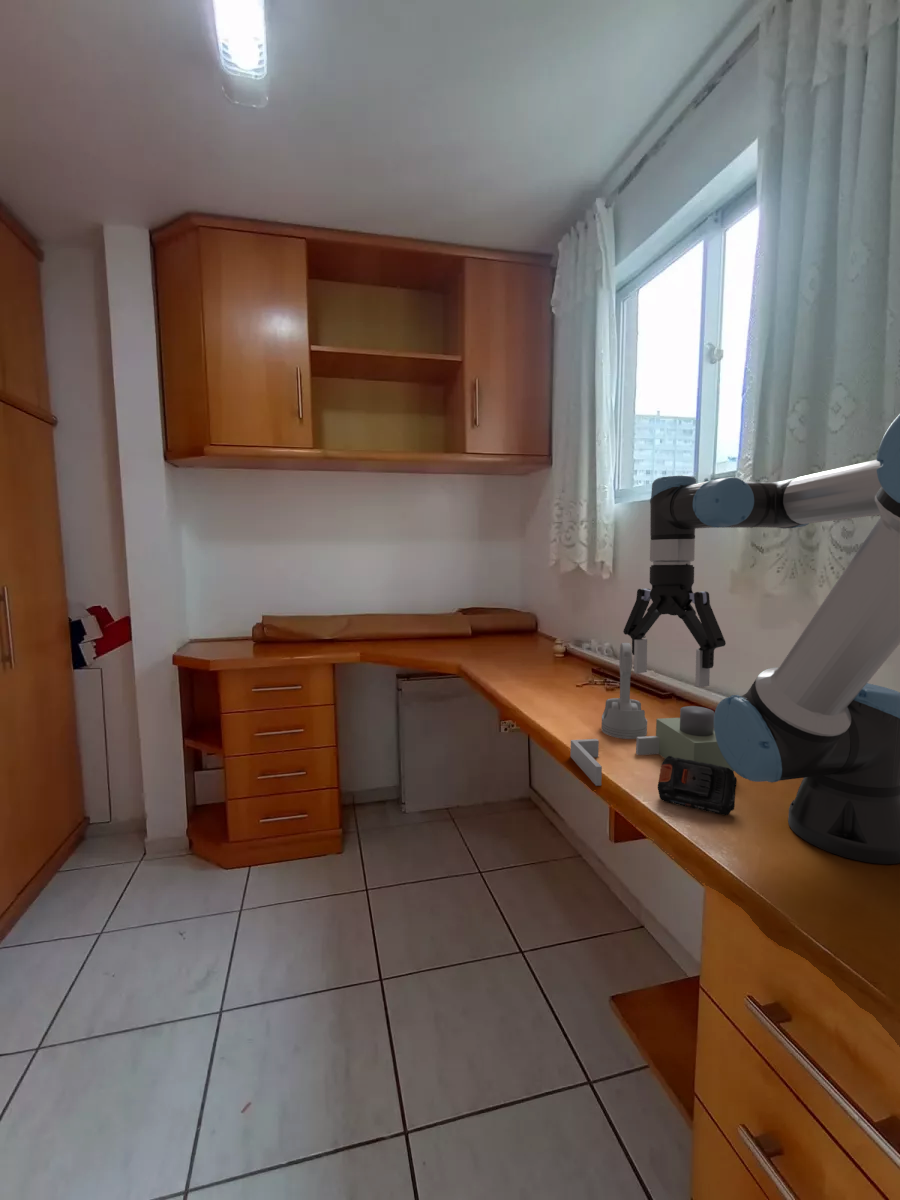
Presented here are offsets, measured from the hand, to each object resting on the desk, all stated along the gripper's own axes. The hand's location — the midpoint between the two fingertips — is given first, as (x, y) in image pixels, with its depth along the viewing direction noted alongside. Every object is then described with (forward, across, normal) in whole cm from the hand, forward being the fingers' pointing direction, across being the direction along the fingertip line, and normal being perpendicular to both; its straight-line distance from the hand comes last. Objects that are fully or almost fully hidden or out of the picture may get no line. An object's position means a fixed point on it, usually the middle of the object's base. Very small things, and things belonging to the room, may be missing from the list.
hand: (669, 679), depth 101 cm
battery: (+19, -10, +6) cm, 22 cm away
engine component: (+18, +22, -12) cm, 31 cm away
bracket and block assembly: (+18, +5, 0) cm, 19 cm away
